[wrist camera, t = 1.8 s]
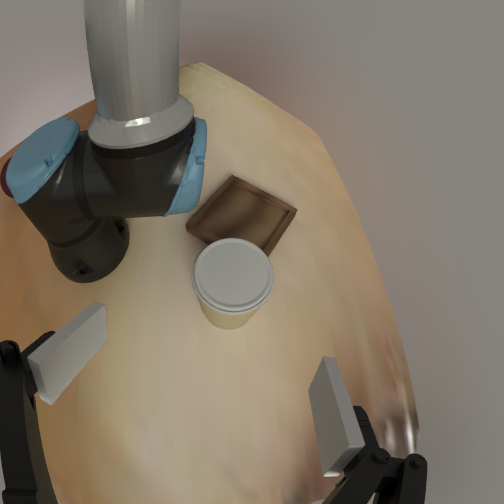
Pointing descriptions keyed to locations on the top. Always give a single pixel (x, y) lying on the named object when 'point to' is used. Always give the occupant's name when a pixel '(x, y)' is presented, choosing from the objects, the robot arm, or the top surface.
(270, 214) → the coaster tray
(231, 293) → the coffee cup
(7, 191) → the decorative ball
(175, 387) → the top surface
